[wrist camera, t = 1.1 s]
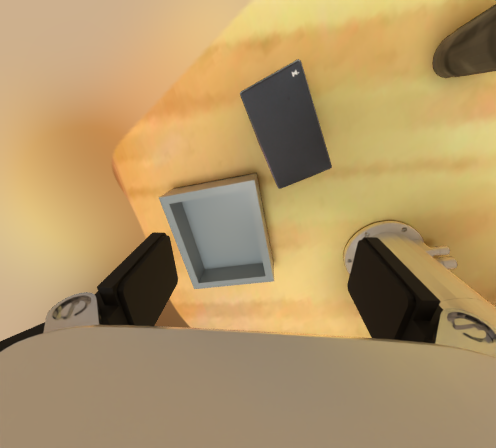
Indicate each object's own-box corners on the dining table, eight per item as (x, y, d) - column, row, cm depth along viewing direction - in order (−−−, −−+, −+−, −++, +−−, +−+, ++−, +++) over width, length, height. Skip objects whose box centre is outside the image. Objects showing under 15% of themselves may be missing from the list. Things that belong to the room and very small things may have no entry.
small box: (246, 103, 29) (235, 91, 20) (291, 78, 28) (302, 53, 18) (274, 173, 33) (276, 191, 23) (315, 155, 31) (335, 167, 22)
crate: (256, 172, 33) (254, 179, 29) (273, 263, 40) (273, 281, 35) (173, 188, 36) (158, 197, 31) (202, 271, 42) (194, 289, 38)
